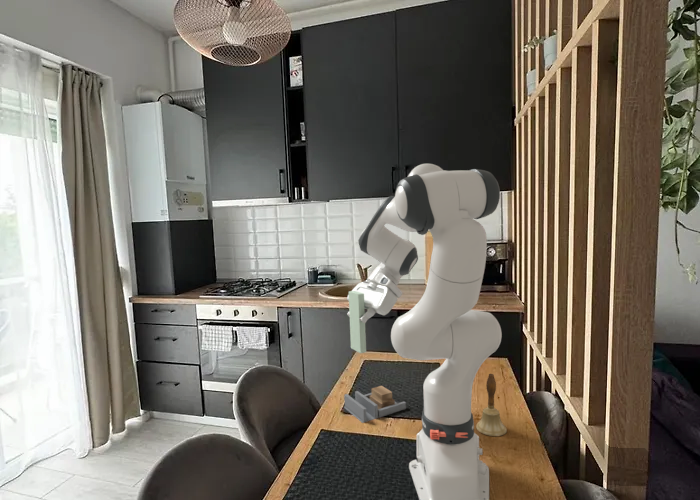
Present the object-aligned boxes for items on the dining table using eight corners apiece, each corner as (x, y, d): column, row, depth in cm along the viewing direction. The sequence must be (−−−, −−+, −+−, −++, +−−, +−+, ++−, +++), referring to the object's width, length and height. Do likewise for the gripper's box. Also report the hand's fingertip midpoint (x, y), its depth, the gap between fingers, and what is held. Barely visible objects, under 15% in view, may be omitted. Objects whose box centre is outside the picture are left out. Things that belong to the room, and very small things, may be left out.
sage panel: (356, 346, 128) (354, 290, 126) (366, 352, 122) (363, 293, 121) (350, 348, 127) (348, 291, 125) (360, 353, 121) (358, 294, 120)
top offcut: (381, 392, 133) (381, 385, 133) (392, 399, 128) (392, 392, 128) (371, 395, 131) (371, 388, 131) (381, 403, 126) (381, 395, 126)
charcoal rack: (384, 397, 138) (384, 383, 137) (406, 411, 127) (405, 396, 127) (343, 409, 130) (342, 395, 130) (362, 426, 120) (361, 409, 119)
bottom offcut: (382, 399, 134) (382, 392, 134) (394, 407, 128) (394, 399, 128) (369, 403, 132) (369, 395, 132) (381, 411, 126) (381, 404, 126)
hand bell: (479, 419, 121) (479, 367, 120) (509, 425, 117) (508, 372, 115) (472, 432, 114) (472, 377, 113) (503, 439, 110) (503, 382, 108)
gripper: (358, 274, 135) (333, 306, 131) (393, 281, 117) (366, 319, 113) (369, 285, 138) (345, 318, 134) (406, 294, 120) (379, 332, 116)
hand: (355, 319), depth 123 cm, fingers closed on sage panel, 6 cm apart
